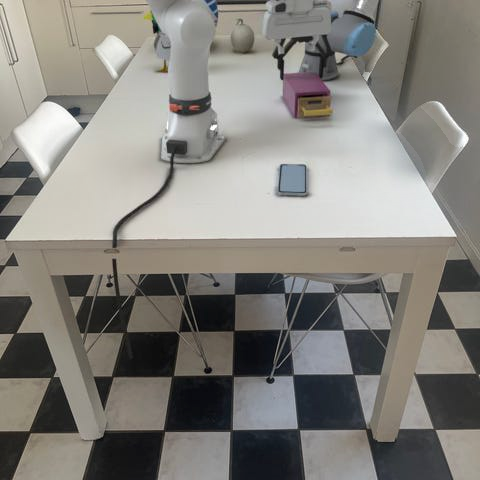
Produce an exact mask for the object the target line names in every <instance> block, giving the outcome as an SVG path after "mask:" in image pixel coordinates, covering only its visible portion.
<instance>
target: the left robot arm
mask: <svg viewBox="0 0 480 480" xmlns="http://www.w3.org/2000/svg"><path fill="white" fill-rule="evenodd" d="M146 3H147V5H148V7H149V9H150V11H151V12H152V14H153V16H154V18H155V20H156V22H157V23H158V25H159V27H160V29H161V31H162V32H163V33H164V34H165V35H166V36H168V37H169V38H170V42H171V55H170V60H169V63H168V65H167V68H168V69H167V74H168V75H167V77H168V84H169V95H168V104H169V110H168V111H167V112H166V117H167V124H166V128H165V134H163V135H162V136H161V137H162V138H161V153H160V158H161V160H163V161H165V162H169V164H170V165H169V173H168V175H167V177H166V179H165V181H164V183H163V184H162V186H161V188H159V190H158V191H157V192H156V193H155V194H154V195H152V196H151V197H150V198H149V199H147V200H146V201H144V202H143V203H140V204H139V205H138V206H137V207H135V208H134V209H133V210H131V211H130V212H129V213H127V214H126V215H124V216H123V217H122V218H121V219H120V220H119V221H117V223H116V224H115V226H114V228H113V230H112V244H111V248H112V249H115V248H117V246H118V245H117V244H118V231H119V229H120V227H121V226H122V225H123V224H124V222H126V221H127V220H129V218H131V217H132V216H134V215H135V214H137V213H138V212H139V211H140V210H142V209H144V208H145V207H146V206H148V205H149V204H150V203H152V202H153V201H155V200H156V199H157V198H159V197H160V195H161V194H163V192H164V191H165V190H166V188H167V187H168V184H169V182H170V181H171V178H172V177H173V172H174V165H175V164H174V163H178V164H179V163H180V164H181V163H182V164H195V163H204V162H208V161H210V160H211V159H212V158H213V157H214V155H215V154H216V153H217V151H218V150H219V149H220V148H221V146H222V145H223V144H224V142H225V139H226V138H225V136H224V135H222V134H220V133H219V119H218V113H217V112H216V111H215V110H214V109H213V108H212V93H211V92H210V84H209V59H210V52H211V45H212V43H213V41H214V39H215V36H216V30H217V26H216V27H215V23H214V20H213V19H212V17H211V15H210V14H209V13H208V11H207V10H206V9H205V8H204V7H202V6H200V5H198V4H196V3H195V2H194V1H193V0H146ZM265 9H266V11H265V13H264V15H263V19H262V32H261V33H262V36H263V38H264V39H265V40H267V41H272V40H274V43H275V45H276V46H278V53H279V54H284V47H285V46H282V47H281V46H280V44H279V43H280V42H281V39H284V38H286V39H291V38H294V37H304V36H312V37H313V38H314V39H313V41H312V42H311V44H308V46H309V47H308V50H309V51H314V50H315V45H316V43H317V41H318V39H319V35H324V34H329V32H330V31H331V16H330V14H331V12H332V11H333V4H332V3H331V2H330V1H328V0H318V1H313V0H267V1H266V3H265ZM151 12H150V13H151ZM279 54H278V55H279ZM111 263H112V274H113V275H112V276H113V283H114V284H113V285H114V291H115V297H116V298H115V299H116V303H117V308H118V313H119V318H120V322H121V327H122V331H123V334H124V339H125V344H126V348H127V354H128V358H129V359H130V360H132V359H133V358H134V357H133V351H132V347H131V341H130V337H129V332H128V328H127V323H126V320H125V319H126V318H125V314H124V310H123V305H122V299H121V292H120V287H119V286H120V285H119V284H120V283H119V277H118V266H117V265H118V264H117V258H111Z"/></svg>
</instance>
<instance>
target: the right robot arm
mask: <svg viewBox="0 0 480 480" xmlns="http://www.w3.org/2000/svg"><path fill="white" fill-rule="evenodd" d="M313 1H319V0H313ZM379 1H380V0H352V1H351V4H350V6H349V7H348V8H346V9H344V10H343V13H342V14H341V17H340V14H339V12H338V11H336V10H332V12H331V14H330V16H331V31H330V32H329V34H324V35H319V39H318V41H317V43H316V45H315V50H314V51H309V50H308V47H309V46H308V44H311V42H312V41H313V39H314V38H313V37H312V36H304V37H294V38H289V39H290V40H289V41H288V42H287V44H285V42H286V40H287V38H284V39H281V42H280V43H279V44H280V46H281V47H284V54H279V53H278V46H277V45H276V46H275V48H274V50H273V52H272V54H271V56H272V58H273V59H275V60H277V61H276V63H277V65H276V68H277V70H279V79H280V80H281V81H283V80H284V74H285V60H284V58H285V57H286V55H287V54H288V53H289V52H290V50H291V49H292V48H293V47H294V45H296V44H297V43H299V44H300V43H304V55H303V58H302V61H301V63H300V66H299V70H298V73H303V72H316V74H317V75H318V76H319V77H320V79H321V80H322V81H323V82H324V81H332V80H334V79H336V78H338V76H339V67H338V66H340V65H343V64H344V62H345V60H347V59H349V58H351V57H352V58H355V59H358V57H363V55H366V54H367V53H368V52H369V51H370V49H371V48H372V47H373V45H374V43H375V40H376V37H377V35H376V33H377V29H376V26H375V22H376V21H375V17H374V14H375V11H376V8H377V6H378V4H379ZM284 44H285V46H284ZM336 53H338V54H342V55H345V56H343V57H342V58H340V61H339V62H337V59H336Z"/></svg>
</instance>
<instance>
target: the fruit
mask: <svg viewBox="0 0 480 480" xmlns="http://www.w3.org/2000/svg"><path fill="white" fill-rule="evenodd" d="M236 21H237V23H236V24H235V26H234V27H233V28H232V30H231V33H230V41H231V45H232V47H233V49H234V50H236V51H237V52H239V53H246V52H248V51H251V49H252V48H253V47H254V44H255V33H254V30H253V28H252V27H251V26H249V24H245V23H244V20H243V19H242V18H238V19H236ZM240 22H241V23H240ZM239 23H240V24H239Z"/></svg>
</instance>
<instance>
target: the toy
mask: <svg viewBox="0 0 480 480" xmlns="http://www.w3.org/2000/svg"><path fill="white" fill-rule="evenodd" d="M141 17H142V18H143V20H149V21H151V20H154V22H155V23H157V22H156V20H155V18H154V16H153V14H152V12H149V13H147V14H144V15H142V16H141ZM157 30H159V32H158V34H157V33H156V32H157ZM152 33H153V34H155V35H156V36H155V39H154V41H153V47H154V50H155V51H154V52H155V54H156V58H158V59H161V60H163V68H161V69H158V70H156V72H159V73H165V72H166V73H167V72H168V65H167V61H170V55H171V42H170V38H169V37H168V36H166V35H165V34H164V33H163V32H162V31H161V29H160V27H159V25H158V26H157V27H156V26H153V25H152Z"/></svg>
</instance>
